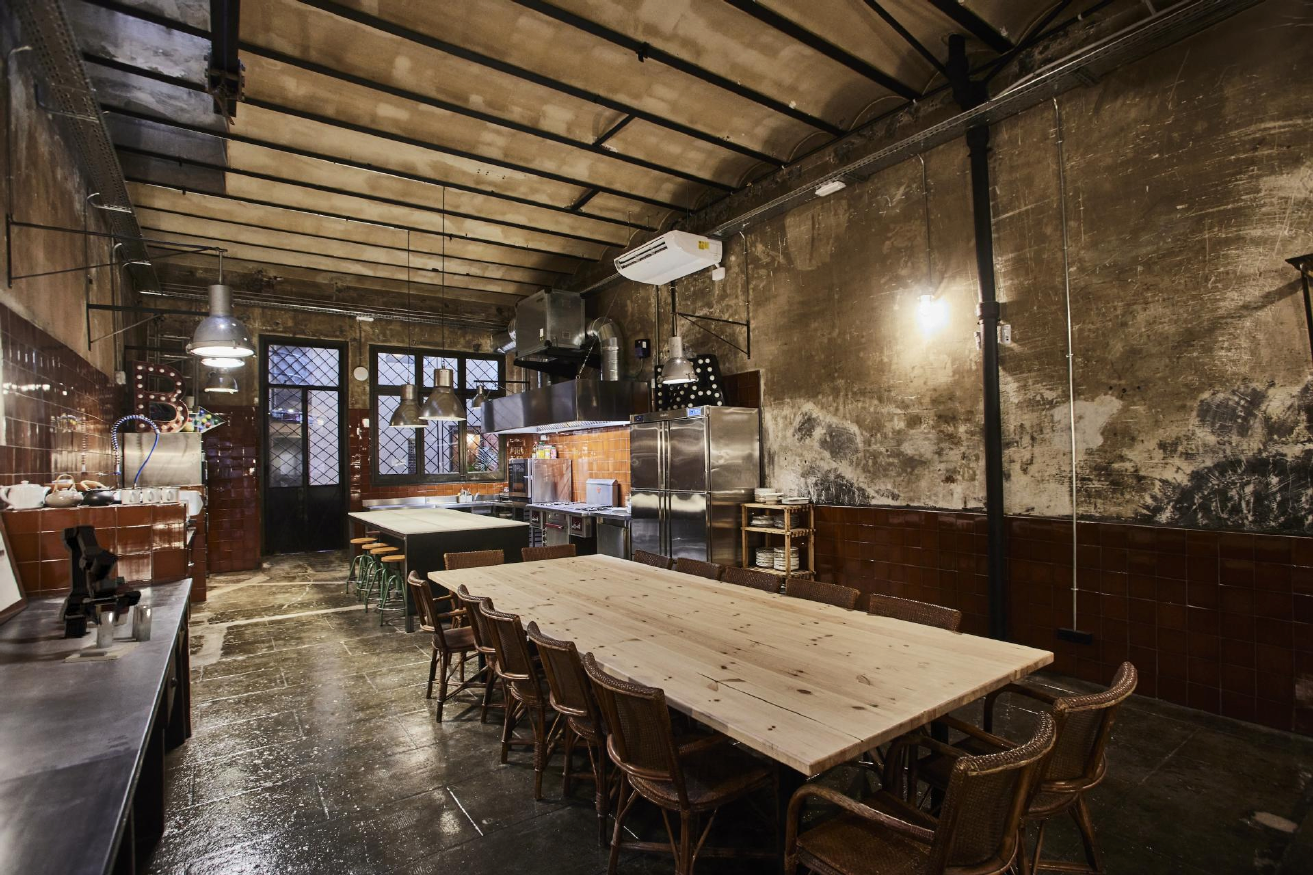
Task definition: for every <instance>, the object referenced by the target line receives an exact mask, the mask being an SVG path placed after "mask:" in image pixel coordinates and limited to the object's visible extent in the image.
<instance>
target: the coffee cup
mask: <svg viewBox="0 0 1313 875" xmlns="http://www.w3.org/2000/svg"><path fill="white" fill-rule="evenodd" d="M132 590H135V588H134V587H132V586H130V584H129V583H125V585H124V586H123V587H118V588H117V589H116V591H117V593H116V594H114V596H117V597H118V596H123V595H124V593H125V591H132ZM114 607H115V603H112V604H104V605H101V612H107V611H114V610H113V609H114ZM130 608H131V606H129V607H125V608H124V609H121V613H120V617H119V620H118V622H116V621H115V617H114V627H118V626H122V625H125V624H127V623H128V616H129V612H130Z"/></svg>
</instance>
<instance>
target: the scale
mask: <svg viewBox="0 0 1313 875" xmlns="http://www.w3.org/2000/svg"><path fill="white" fill-rule="evenodd" d="M140 643H141V642H136V641H135V642H134V641H132V642H117V641H116V642H115V641H113V646H112V647H108V648H101V649H98V648H96V643H95V644H90V645H89V646H85V647H83V648H81V650H79V651H77V652H75V653H72V654H71V655H70V656H68V657H66V658H65V660H64V663H65V662H66V663H77V662H80V663H81V662H91V661H90V660H97V661H110V660H111V659H113V660H118V659H120V658H122V657H123V656H125V655H126V654H128V653H130V652H131V651H133V650H134V649H136V648H138V647H139V646H140ZM135 647H136V648H135ZM132 649H133V650H132ZM124 654H125V655H124ZM117 658H118V659H117ZM109 659H110V660H109Z"/></svg>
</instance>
